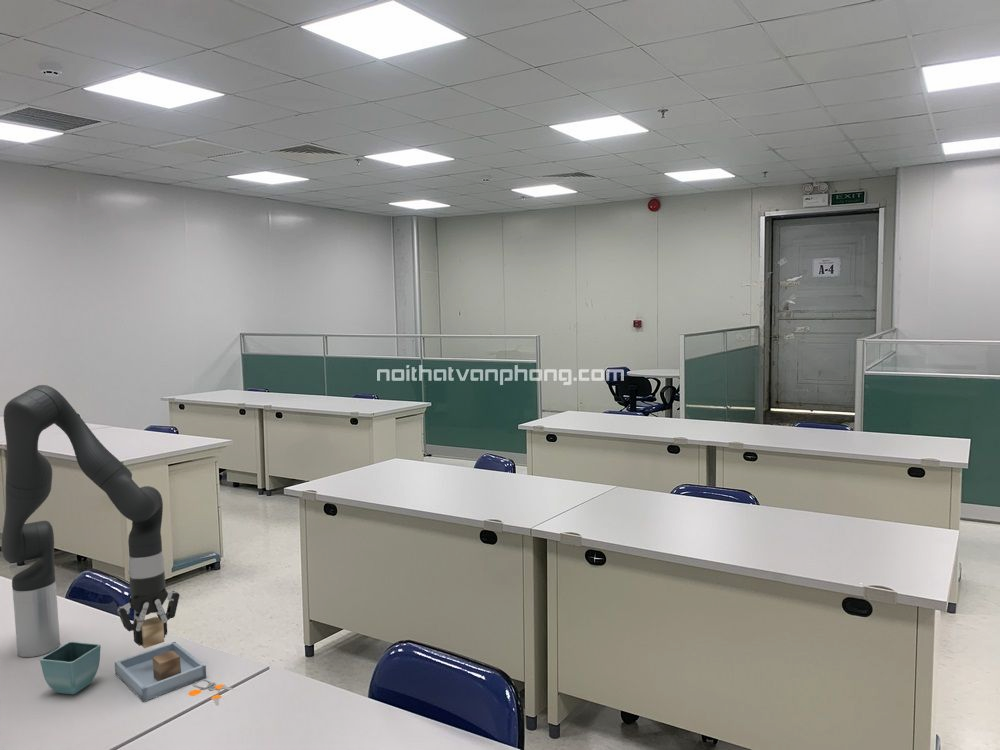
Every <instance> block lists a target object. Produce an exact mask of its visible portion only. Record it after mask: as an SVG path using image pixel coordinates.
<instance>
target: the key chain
mask: <svg viewBox="0 0 1000 750" xmlns="http://www.w3.org/2000/svg"><path fill="white" fill-rule="evenodd" d="M203 681H204V682H207V683H208V684H207V685H206V686H205V687H204V686H198V685H197V684H199V683H201V682H203ZM192 687H194V688H199V690H198V689H193V690H191V691H189V692H188V696H189V697H190V696H198V695H200V694H201V693H202V690H205V689H206V690H208V691H212V692H213V691H216V690H217V691H218V693H217V694H216V695H213V696H212V697H211V700H212V701H213V703H214V704H215V705H216V706H215V705H214V706H215V707H217V706H219V705H220V702H219V700H220V699H222V695H221V694H220V692H221V691H220V690H228V691H233V690H234V688H233V687H230V686H227V685H225V684H223V683H222V684H217V683H216V682H212V681H210V680H208V679H206V678H204V679H201V680H199V681H196V682H194V683H192Z"/></svg>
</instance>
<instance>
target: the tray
mask: <svg viewBox="0 0 1000 750" xmlns="http://www.w3.org/2000/svg"><path fill="white" fill-rule="evenodd" d="M169 651H174V652H175V653H176V654H178V655H179V656H180V664H181V673H180V674H177V675H174V676H172V677H169V678H166V679H164V680H161V681H157V680H156V679H154V673H153V657H155V656H158V655H161V654H163V653H166V652H169ZM206 667H207V666H206V664H205V663H204V662H202V661H200V659H198V658H197V657H195V656H194V655H193V654H192V653H190V652H189V651H187V649H185V648H183V647H182V645H180V644H179V643H177V642H176V641H173V642H170V643H167V644H163V645H160V646H158V647H156V648H151V649H150V650H147V651H144V652H140V653H138V654H134V655H131V656H130V657H129V656H128V657H126V658H123V659H120V660H117V661H115V662H114V668H115V669H114V671H115V675H116V676H117V675H118V676H119V677H120V678H121V679H122V680H123V681H124V682H125V683H126V684H127V685H128V686H129V687H130V688H131V689H132V690H133V691H134V692H135V693H136V694H137V695H138V696H137V695H136V694H135V693H134V692H133V691H132V690H131V689H130V688H129V687H128V686H127V685H126V684H125V683H124V682H123V681H122V680H121V679H120V678H119V677H118V676H117V677H118V678H119V679H120V680H121V681H122V682H123V683H124V684H125V685H126V686H127V687H128V688H129V689H130V690H131V691H132V692H133V693H134V694H135V695H136V696H137V697H138V698H139V699H140V700H141V702H143V703H145V702H147V701H150V700H153V699H155V698H157V697H156V696H158V697H160V696H163V695H165V693H166V694H168V693H170V692H173V691H176V690H178V689H181V688H183V687H185V686H188V685H191V684H195V683H196V682H198V681H200V680H203V679H206V678H207V668H206ZM162 694H163V695H162ZM154 697H155V698H154ZM152 698H153V699H152ZM149 699H150V700H149ZM144 701H145V702H144Z"/></svg>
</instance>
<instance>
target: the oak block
mask: <svg viewBox="0 0 1000 750" xmlns="http://www.w3.org/2000/svg"><path fill="white" fill-rule="evenodd" d="M141 630H142V640H143V645H141V646H140V647H142V648H144V649H147V648H151V647H154V646H155V645H160V644H162V643H165V638H164V625H163V621H162V620H160V619H159V618H158V616H153V617H150V618H147V619H146V618H145V620H144V621H143V624H142V628H141Z"/></svg>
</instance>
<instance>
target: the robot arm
mask: <svg viewBox="0 0 1000 750" xmlns="http://www.w3.org/2000/svg"><path fill="white" fill-rule="evenodd" d="M3 425H4V432H5V433H4V434H5V435H4V436H5V442H6V473H5V487H4V488H5V514H4V521H3V527H2V533H1V535H2V536H1V553H2V557H3V559H4V561H6V562H8V563H11V564H12V563H13V564H17V563H22V562H26V561H31V560H36V561H34V563H33V564H31V565H30V566H29V567H26V569H24V570H22V571H20V572H18V573H16V574H15V575H14V576H13V577H12V580H11V587H12V601H13V612H14V613H13V614H14V623H15V625H14V626H15V636H16V637H15V638H16V639H15V640H16V650H17V651H16V652H17V656H19V657H21V658H32V657H38V656H43V655H45V654H46V655H47V654H49V653H51V652H53V651H54V650H56V649H58V648H59V647H60V645H61V638H60V622H59V621H60V620H59V607H58V597H57V596H58V595H57V594H58V593H57V583H56V570H55V533H54V529H53V525H52V524H51V523H50V521H48V520H39V521H33V522H29V523H27V522H26V521H28V519H29V518H30V517H31V516H33V514H34V513H35V512H36V510H37V511H38V509H39V508H40V507H41V506H42V505H43V504H44V503H45V501H46V500H47V498H48V497H49V495H50V493H51V491H52V484H53V467H52V465H51V463H50V462H49V460H48V459H47V458H46V457H45V456H44V455H43V454H42V453H41V452H40V451H39V438H40V435H41V434H42V432H43V431H44V430H46V429H47V428H50V427H51V426H52V425H53V426H54V425H56V427H59V429H60V430H62V431H63V432H64V434H65V435H66V437H68V439H69V441H70V443H71V446H72V450H73V452H74V455H75V458H76V462H77V464H78V467H79V468H80V470H81V471H82V472H83V474H85V476H86V477H87V478H88V479H89V480H91V482H93V483H94V485H96V486H97V487H98V488H100V490H102V491H103V492H104V493H105V494H106V495H107V497H108V499H109V500H110V501H111V502H112V504H113V505H114V507H116V509H117V511H118V512H120V514H121V515H122V516H123V517H125V518H126V519H128V520H130V521H132V522H131V530H130V532H129V534H128V538H127V539H128V541H127V543H128V556H129V557H128V578H129V579H128V580H129V593H130V598H129V600H128V603H126V604H124V605H122V606H121V605H118V606H117V607H116V612H117V614H118V616H119V618H120V621H121V623H122V625H123V627H124V629H125V630H126V631H127V632H133V641H134V643H135V644H136V645H137V646H139V647H142V646H141V645H143V640H142V630H141V628H142V624H143V621H144V620H146V616H147V615H150V614H154V613H155V614H156V617H158V618H159V619H160V620H162V621H163V625H164V639H165V638H166V636H167V634H168V621H169V620H170V619H174V618H175V617H176V612H177V609H178V603H179V600H180V599H179V598H180V593H179V592H177V591H175V590H172V591H168V590H167V589H166V574H165V559H164V555H163V545H162V544H163V543H162V541H163V540H162V535H161V533H162V532H161V531H162V530H161V529H162V521H163V508H164V507H163V506H164V504H163V497H162V494H161V493H160V491H159V490H158V489H157V488H155V487H153V486H149V485H148V486H146V485H145V486H142V487H140V486H139V485H138V484H137V483H136V482H135V481H134V480H133V478H132V477H133V474H132V472H131V471H130V469H129V468H128V467H127V466H125V464H124V463H122V461H121V460H119V459H118V458H117V457H116V456H115V455H114V454H112V453H111V452H110V451H109V449H107V448H106V446H104V445H103V443H102V442H101V441H100V440H99V439H98V438H97V437H96V435H95V434H94V432H93V431H92V430H91V429H90V428H89V427H88V425H87V423H86V422H85V421H84V420H83V419H82V417H81V416H80V415H79V413H78V412H77V411H76V410H75V408H74V407H73V406H72V405H71V404H70V402H69V401H68V400H67V399H66V398H65V397H64V395H63V394H61V392H59V391H58V390H57V389H55V388H54V387H52V386H50V385H48V384H39V385H36V386H34V387H31V388H30V389H28V390H26V391H25V392H23V393H20V395H17V396H15V397H14V398H11V399H10V400H9V401H8V402H7V403H6V404H5V406H4V409H3ZM166 600H168V603H167V604H168V605H167V608H166V610H164V607H163V605H164V603H165V602H166ZM131 608H132V609H133V610H134V614H133V622H131V620H130V617H129V614H130V609H131Z"/></svg>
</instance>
